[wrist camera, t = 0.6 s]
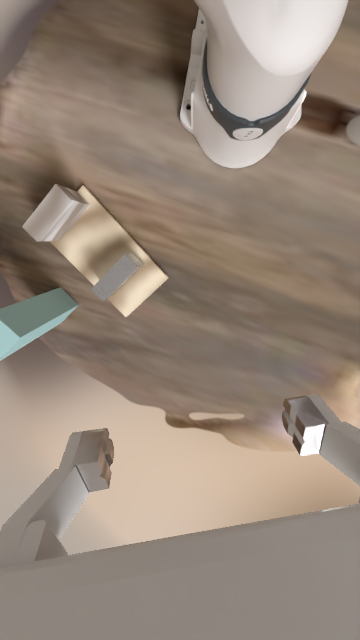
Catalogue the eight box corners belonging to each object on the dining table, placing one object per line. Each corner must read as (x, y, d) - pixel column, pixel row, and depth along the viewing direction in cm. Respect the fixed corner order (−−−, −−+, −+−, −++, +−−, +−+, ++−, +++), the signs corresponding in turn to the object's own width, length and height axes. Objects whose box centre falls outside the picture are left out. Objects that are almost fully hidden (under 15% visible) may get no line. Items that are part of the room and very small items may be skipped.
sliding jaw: (144, 264, 47) (137, 267, 42) (112, 295, 49) (103, 301, 44) (132, 252, 46) (125, 253, 42) (101, 283, 49) (90, 289, 44)
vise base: (168, 277, 49) (163, 284, 41) (127, 315, 52) (115, 329, 44) (85, 186, 45) (61, 175, 37) (45, 234, 48) (16, 233, 40)
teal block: (78, 304, 52) (20, 337, 35) (61, 322, 54) (-3, 362, 37) (60, 287, 51) (-9, 312, 34) (43, 305, 53) (-32, 338, 36)
